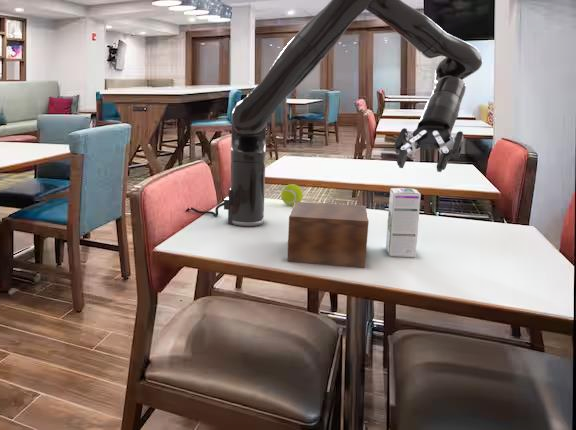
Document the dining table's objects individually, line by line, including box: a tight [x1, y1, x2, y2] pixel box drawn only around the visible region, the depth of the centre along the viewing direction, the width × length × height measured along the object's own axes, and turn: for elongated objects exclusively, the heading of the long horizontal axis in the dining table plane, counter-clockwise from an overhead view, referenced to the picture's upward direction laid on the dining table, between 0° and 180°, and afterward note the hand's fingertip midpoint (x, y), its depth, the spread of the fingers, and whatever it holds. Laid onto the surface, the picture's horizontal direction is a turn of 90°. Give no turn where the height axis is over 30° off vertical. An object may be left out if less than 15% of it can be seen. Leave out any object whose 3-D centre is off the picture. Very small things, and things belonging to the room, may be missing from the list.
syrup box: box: [385, 187, 422, 258], centre depth 120 cm, size 6×6×14 cm
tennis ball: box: [280, 183, 304, 207], centre depth 169 cm, size 7×7×7 cm
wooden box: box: [286, 201, 369, 269], centre depth 120 cm, size 16×15×10 cm
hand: (419, 167), depth 123 cm, fingers open, 8 cm apart
